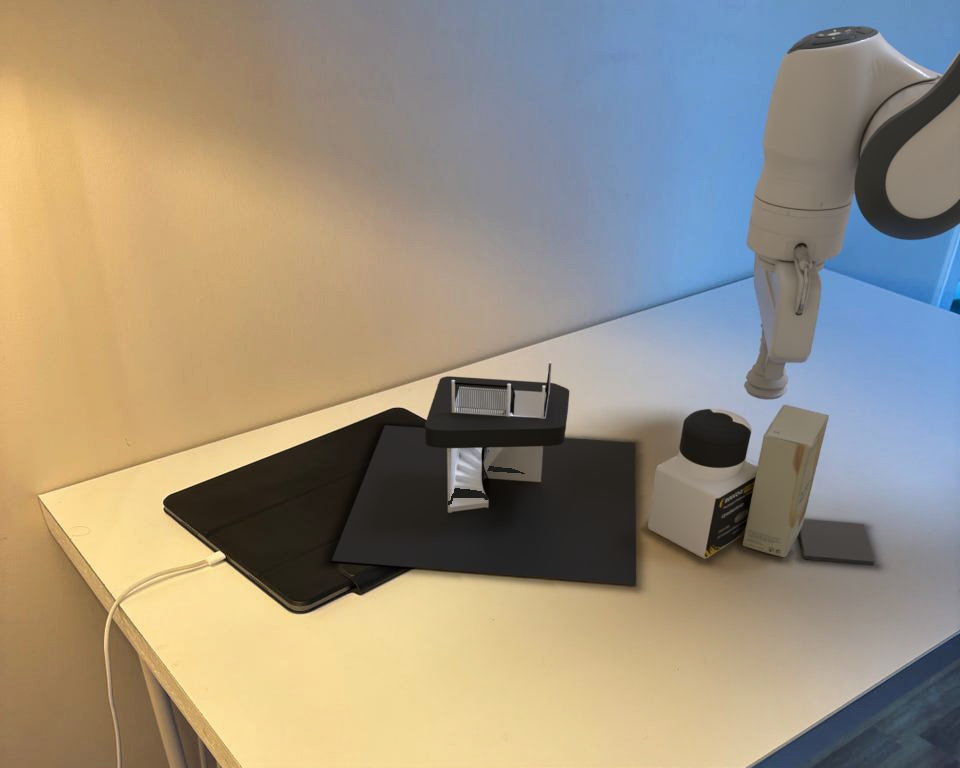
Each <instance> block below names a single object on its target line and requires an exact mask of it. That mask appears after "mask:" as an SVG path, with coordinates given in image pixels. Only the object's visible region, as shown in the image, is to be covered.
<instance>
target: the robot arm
mask: <svg viewBox="0 0 960 768" xmlns="http://www.w3.org/2000/svg"><path fill="white" fill-rule="evenodd" d="M772 87H773V88H772V91H771V96H770V100H769V105H768V110H767V115H766V121H765V125H764V131H763V137H762V138H763V139H762V149H763V150H762V151H763V165H762V169H761V172H760V175H759V178H758V180H757V182H756V184H755V188H754V193H753V199H752V205H751V211H750V216H749V217H750V218H749V222H748V229H747V236H746V241H745V242H746V246H747V248H748V249H749V250H751V251H752V252H753V253H754V264H753V288H754V292H755V297H756V301H757V307H758V311H759V316H760V320H761V323H762V326H763V329H762V328H761V336H760V337H761V338H762V337H763V336H764V335H765V340H766V345H767V349H768V353H767V357H766V358H765V363H764V368H763V371H764V377H765V379H767V380H780V379H781V378H782V376H783V372H784V367H786V363H788V364H789V363H791V364H802V363H803V364H804V363H805V362H806V361H807V360H808V359H809V357H810V355H811V352H812V348H813V343H814V338H815V332H816V327H817V321H818V316H819V310H820V304H821V297H822V279H821V276H820V272H821V271H822V270H823V269H824V267H825V262H826V261H827V260H830V259H833V258H836V257H837V256H838V255H840V253H841V252H842V249H843V245H844V241H845V235H846V231H847V227H848V222H849V219H850V213H851V208H852V204H853V200H854V198H855V201H856V204H857V207H858V210H859V211H860V214H861V215H862V217H863V218H864V219H865V220H866V222H867V223H868V224H869V225H870V226H871V227H872V228H874V229H875V230H876V231H878V232H880V233H881V234H883V235H885V236H888V237H891V238H893V239H897V240H904V241H918V240H919V241H920V240H925V239H931V238H934V237H937V236H940V235H942V234H945V233H946V232H949V231H950V230H952V229H954V228H956V227H957V226H959V225H960V49H959V50H958V52H957V53H956V54H955V56H954V58H953V59H952V61H951V62H950V64H949V65H948V67H947V68H946V69H945V71H944V72H943V74H941V73H938V72H936V71H933V70H930V69H929V68H926V67H924V66H922V65H920V64H918V63H916V62H914V61H913V60H912V59H910V58H908V57H906V56H905V54H902V53H901V52H899V51H898V50H897V49H896V48H894V47H893V45H891V44H889V42H887V40H886V39H885V38H884V36H883V35H882V34H881V32H880V31H879V30H878V29H876V28H873V27H870V26H863V25H858V26H854V25H851V26H841V27H840V26H839V27H834V28H829V29H823V30H820V31H819V30H818V31H816V32H814V33H810V34H807V35H806V36H804V37H802V38H801V39H799V40H798V41H797V42H796V43H794V44H793V45H792V46H791V48H790V49H788V51H786V53H785V54H784V56H783V57H782V60H781V62H780V64H779V68H778V70H777V73H776V77H775V79H774V84H773V86H772ZM854 196H855V197H854ZM763 330H764V331H763ZM761 345H762V342H761V341H760V344H759V348H758V349H759V352H760V350H761Z"/></svg>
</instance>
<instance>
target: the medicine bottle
mask: <svg viewBox="0 0 960 768" xmlns="http://www.w3.org/2000/svg"><path fill="white" fill-rule="evenodd" d="M681 429H682V430H681V436H680V441H679V448H678V454H677V455H675V456H673V457H671V458H669V459H667V460H665V461H663V462H662V463H659V464H658V465H657V466H656V468H655V474H654V481H653V487H652V495H651V501H650V507H649V514H648V515H649V516H648V522H647V528H648V530H650V531H651V532H654V533H655V534H657V535H659V536H661V537H662V538H664V539H666V540H668V541H670V542H672V543H674V544H675V545H678V546H679V547H681V548H682V549H685V550H687V551H688V552H690V553H692V554H694V555H696V556H698V557H700V558H702V559H707V558H709V557H711V556H713V555H715V554H716V553H717V552H720V550H722V549H724V548H725V547H727V546H728V545H730V544H731V543H733V542H734V541H737V540H738V539H739V538H741V537H742V536H744V534H745V529H746V524H747V519H748V514H749V509H750V503H751V498H752V493H753V488H754V483H755V478H756V473H757V468H758V465H754V464H753V463H750V462H748V461H746V460H747V453H748V450H749V444H750V440H751V435H752V426H751V425H750V422H749V421H748V420H747V419H746V418H745V417H743V416H742V415H740V414H738V413H736V412H733V411H729V410H727V409H723V408H703V409H698V410H696V411H694V412H692V413H690V414H689V415H687V416H686V417H685V418H684V420H683V423H682V428H681Z"/></svg>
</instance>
